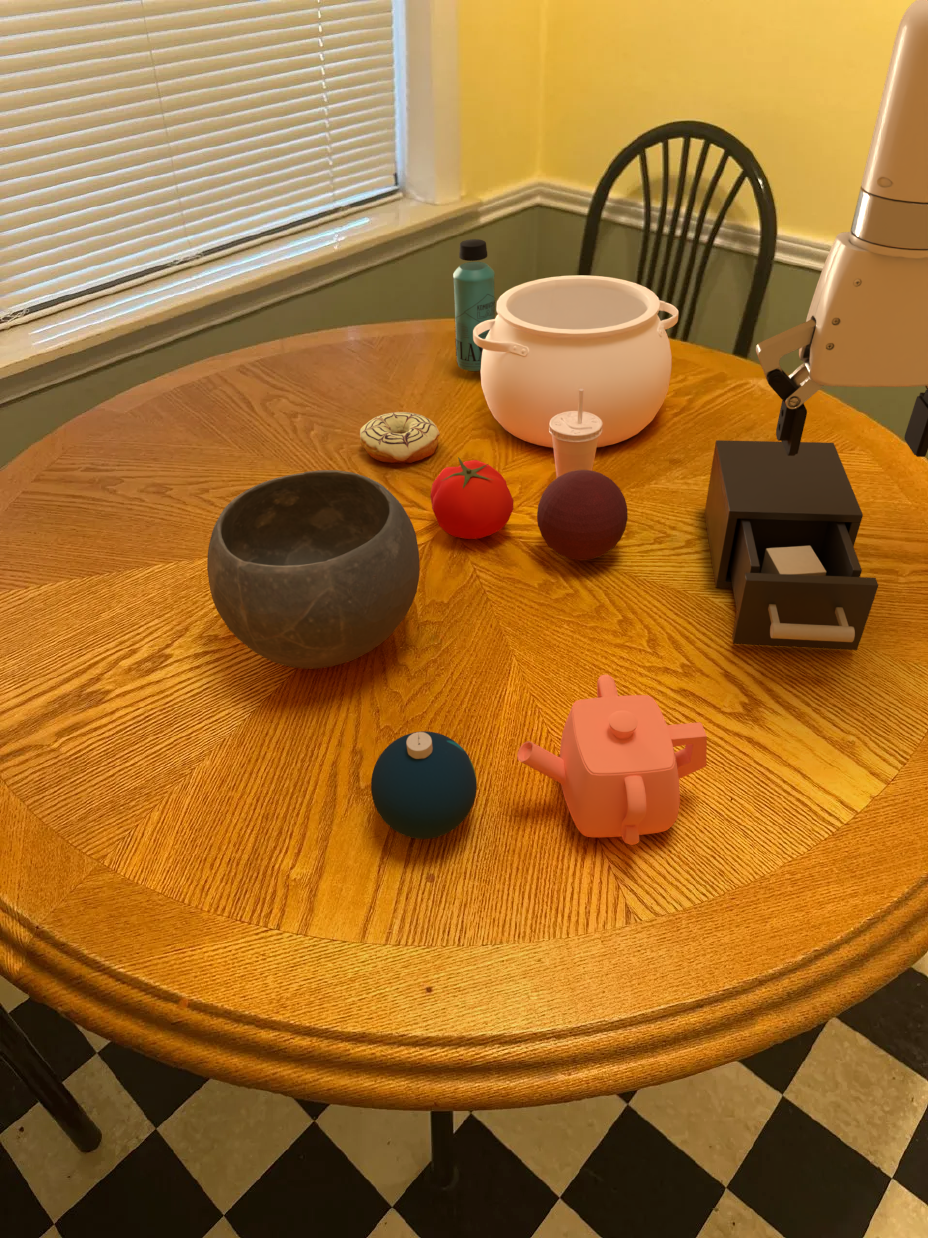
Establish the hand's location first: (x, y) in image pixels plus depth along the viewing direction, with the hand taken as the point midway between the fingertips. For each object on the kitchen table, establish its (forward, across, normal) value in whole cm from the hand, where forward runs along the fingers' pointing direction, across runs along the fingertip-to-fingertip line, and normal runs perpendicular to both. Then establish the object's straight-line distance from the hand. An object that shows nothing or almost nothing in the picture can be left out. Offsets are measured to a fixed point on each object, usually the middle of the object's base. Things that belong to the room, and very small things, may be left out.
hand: (850, 448), depth 69 cm
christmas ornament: (+24, +33, +20) cm, 45 cm away
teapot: (+24, +18, +17) cm, 34 cm away
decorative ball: (+23, +20, -18) cm, 36 cm away
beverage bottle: (+23, +36, -67) cm, 80 cm away
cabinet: (+23, -1, -19) cm, 30 cm away
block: (+21, -1, -8) cm, 22 cm away
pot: (+23, +21, -52) cm, 61 cm away
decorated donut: (+23, +44, -42) cm, 65 cm away
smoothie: (+23, +21, -31) cm, 44 cm away
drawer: (+22, -1, -6) cm, 23 cm away
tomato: (+23, +33, -22) cm, 46 cm away
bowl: (+24, +46, -2) cm, 52 cm away
